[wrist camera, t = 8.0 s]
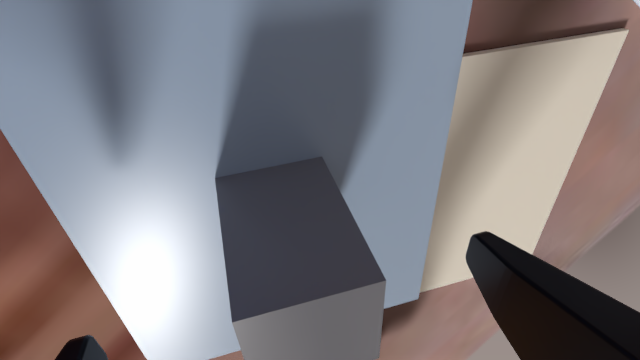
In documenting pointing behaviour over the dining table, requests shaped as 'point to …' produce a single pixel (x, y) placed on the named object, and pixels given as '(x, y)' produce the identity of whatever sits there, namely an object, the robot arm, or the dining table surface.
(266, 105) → the lid
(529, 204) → the mat
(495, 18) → the dining table surface
